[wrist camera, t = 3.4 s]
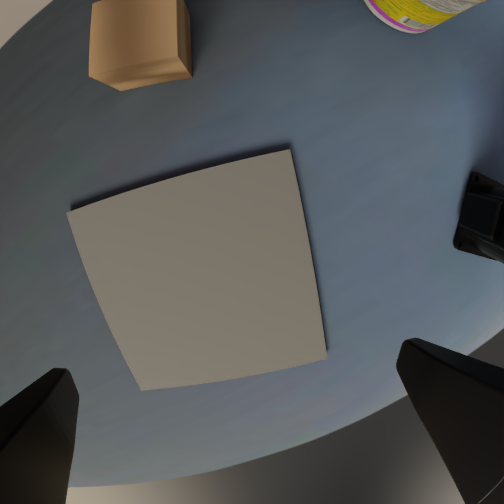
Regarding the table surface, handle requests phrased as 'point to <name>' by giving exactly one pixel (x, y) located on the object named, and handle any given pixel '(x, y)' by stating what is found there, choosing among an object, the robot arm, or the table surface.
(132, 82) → the light brown cube
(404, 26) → the supplement bottle
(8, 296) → the table surface
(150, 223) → the mat
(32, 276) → the table surface
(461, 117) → the table surface
